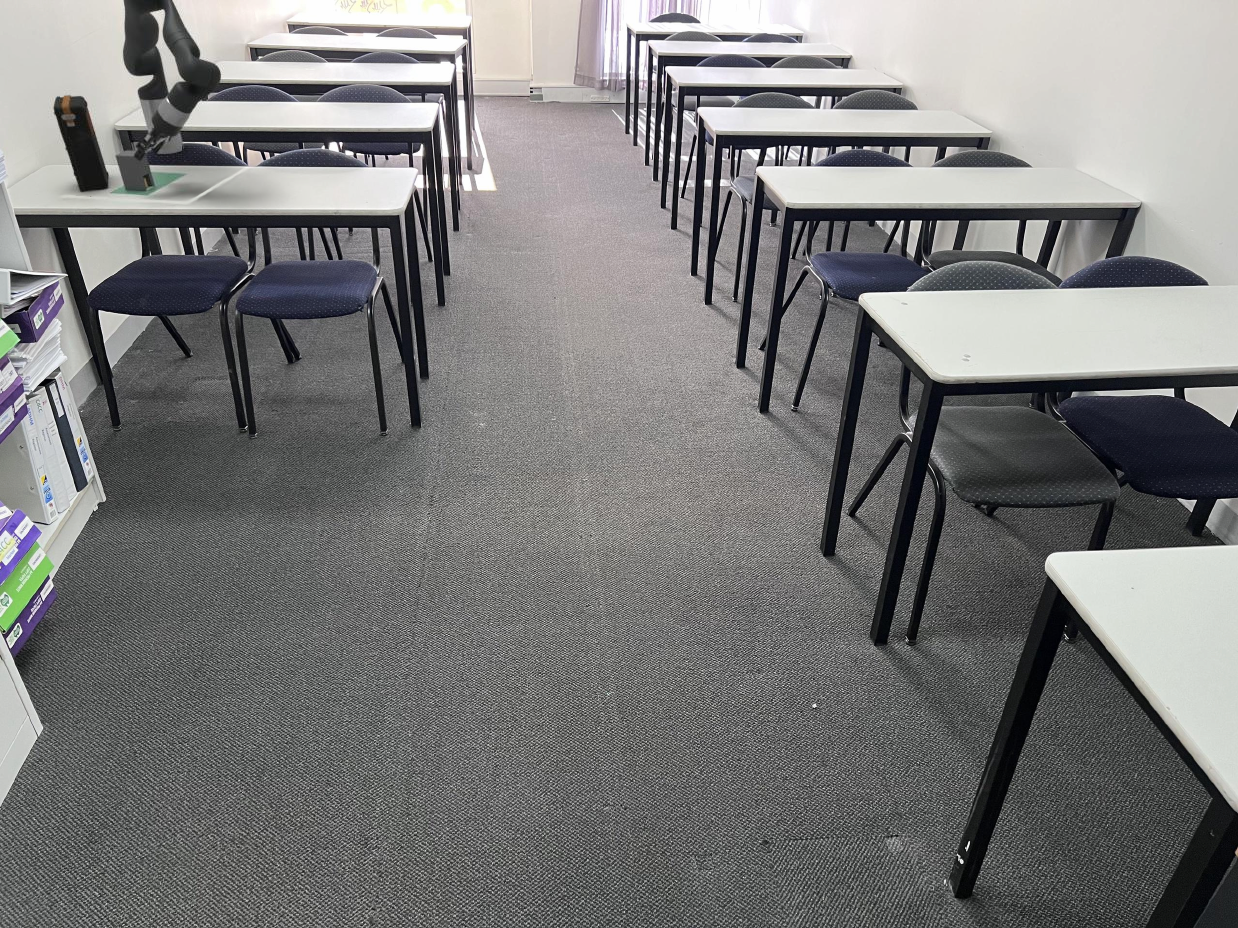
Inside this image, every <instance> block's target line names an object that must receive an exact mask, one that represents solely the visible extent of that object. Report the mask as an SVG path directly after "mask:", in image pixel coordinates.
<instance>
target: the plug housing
mask: <svg viewBox="0 0 1238 928" xmlns="http://www.w3.org/2000/svg"><path fill="white" fill-rule="evenodd" d="M136 151H137V150H127V149H126V150H124V151H122V152H120V153H117V154H115V155H114V156H115V159H116V162H117V166H118V168H119V173H120V176H121V180H122V183H123V186H124V187H125V190H138V191H145V190H147V189H146V185H145V181H144V178H145V179H146V182H147V186H150V187H153V186H155V185H154V181H153V177H152V174H151V172H152V170H151V167H150V163H149V159H148V155H147V154H146V155H145V156H144V158H143V159H142V160H141V161H138V160H137V159H136V158H135V157H134V154H135V153H136Z"/></svg>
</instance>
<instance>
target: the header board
mask: <svg viewBox="0 0 1238 928" xmlns="http://www.w3.org/2000/svg"><path fill="white" fill-rule="evenodd" d="M151 174H152V177H153V181H154V185H155V186H153V187H150V186H147V182H146V179H145V178H144V181H145V185H146V189H147V190H145V191H138V190H125V187H124V185H122V186H121V187H118V188H116V189H114V190H113V191H110V192H109V194H118V195H137V196H138V195H139V196H149V195H151V194H152V193H154V192H156V191H158V190H160V189H162V188H164V187H166V186H168V185H170V184H172V183H173V182H175V181H176V180H179V179H181V178H182V177H184V176H186V175H187V173H179V172H165V171H164V172H161V171H160V172H159V171H151Z"/></svg>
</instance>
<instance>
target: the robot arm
mask: <svg viewBox="0 0 1238 928" xmlns="http://www.w3.org/2000/svg"><path fill="white" fill-rule="evenodd" d="M123 5H124V23H123V24H124V43H123V48H122V58H123V59H122V60H123V63H124V67H125V69H126V70H127V72H128V73H130V75H132V76H135V77H145V76H146V77H149V76H152V78H151V80H150V81H149V82H148V83H146V84H144V85H142V86H140V87H138V89H137V96H138V99H139V102H140V106H141V110H142V113H143V117H144V121H145V124H146V128H147V131H145V132H144V133H143V135H142V136H141V137H140V139H139V140H138V142H137V144H136V145H135V148H136V150H135V151H136V153H135V154H134V157H135V158H136V159H137V160H138V161H141V160H142V159H143V158H144V156H145V155H146V156H147V153H148V152H149V151H152V152H153V153H154V154H159V155H163V154H164V155H169V154H175V153H179V152H182V151H183V150H182V144H183V145H184V142H183V138H182V135H181V131H182V129H183V127H184V126H185V124H186V123H187V121H188V120H189V118H190V116H191V114H192V112H193V111H194V109H195V108H196V106H197V105H198V104H199V102H202V100H204V99H205V98H206V97H208V96H209V95H210V94H212V93H213V92H214V91H215V90H217V88H218V87H219V85H220V83H221V80H222V72H221V69H220V68H219V66H218V65H217V64H216V63H215V62H211V61H208V60H205V59H201V50H200V48H199V46H198V45H197V43H196V41H195V40H194V39H193V37H192V35H191V34H190V32H189V31H188V29H187V28H186V26H185V24H184V22H183V19H182V18H181V15H180V13H179V11H178V9H177V7H176V5H175V3H174V1H173V0H123ZM161 10H163V11H164V18H163V19H164V20H163V25H162V29H161V30H162V31H161V32H162V38H163V41H164V44H165V45H166V46H167V48H168V50H169V51H170V52H171V54H172V55H173V58H174V61H175V63H176V67H177V72H178V74H179V76H180V77H181V78H182V80H183V81H177V82H176V83H175V84H174V85H173V86H172V88H171V89H170V91H169V88H168V85H167V80H166V76H165V70H164V65H163V60H162V56H161V53H160V50H159V48H158V47H157V46H156V45H157V44H158V42H159V38H160V26H159V23H158V20H157V19H156V17H155V16H154V15H153V14H152V13H154V12H158V11H161Z"/></svg>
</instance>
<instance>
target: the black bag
mask: <svg viewBox="0 0 1238 928" xmlns="http://www.w3.org/2000/svg"><path fill="white" fill-rule="evenodd" d="M88 107H89V106H88V101H87V100H86V99H85V98H84V96H82V95H75V96H73V95H71V94H66V95H63V96H62V97H61V96H60V95H59V96H56V97H55V100H54V104H53V107H52V109H53V115H55V118H56V121H57V125H58V128H59V131H60V134H61V137H62V140H63V142H64V145H65V151H66V153H67V155H68V158H69V161H70V162H69V163H70V164H71V168H72V171H73V176H74V177H75V179H76V183H77V187H78V189H79V191H80V192H81V193H84V192H92V191H94V192H95V191H103V190H107V189H108V188H109V177H110V176H109V175H110V174H109V172H108V171H107V167H106V165H105V162H104V157H103V154H102V151H101V148H100V145H99V141H98V137H97V135H96V131H95V127H94V125H93V121H92V118H91V115H90V111H89V109H88Z"/></svg>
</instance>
